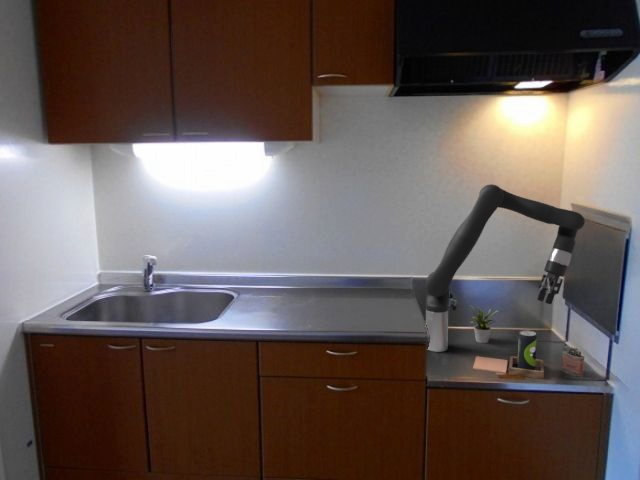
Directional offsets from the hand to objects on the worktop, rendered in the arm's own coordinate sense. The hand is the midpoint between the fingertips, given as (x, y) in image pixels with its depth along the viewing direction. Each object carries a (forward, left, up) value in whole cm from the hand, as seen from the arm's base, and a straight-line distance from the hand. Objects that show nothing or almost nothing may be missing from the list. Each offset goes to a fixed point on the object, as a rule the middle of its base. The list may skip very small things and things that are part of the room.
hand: (543, 302), depth 192 cm
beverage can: (-5, -8, -25) cm, 27 cm away
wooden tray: (-5, -8, -25) cm, 27 cm away
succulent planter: (+11, -5, -25) cm, 28 cm away
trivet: (-18, -8, -25) cm, 32 cm away
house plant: (-25, +18, -25) cm, 40 cm away
